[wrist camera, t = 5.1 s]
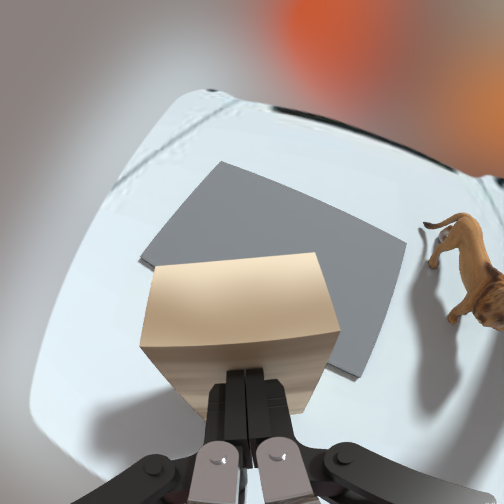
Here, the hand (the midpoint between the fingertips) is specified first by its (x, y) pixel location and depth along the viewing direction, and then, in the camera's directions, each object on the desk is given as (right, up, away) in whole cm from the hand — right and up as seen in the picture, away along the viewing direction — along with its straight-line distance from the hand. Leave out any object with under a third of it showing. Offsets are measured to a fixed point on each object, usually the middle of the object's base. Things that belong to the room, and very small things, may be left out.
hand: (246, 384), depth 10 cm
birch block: (0, -5, +8) cm, 9 cm away
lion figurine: (+21, +2, +12) cm, 24 cm away
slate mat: (+3, +6, +14) cm, 15 cm away
